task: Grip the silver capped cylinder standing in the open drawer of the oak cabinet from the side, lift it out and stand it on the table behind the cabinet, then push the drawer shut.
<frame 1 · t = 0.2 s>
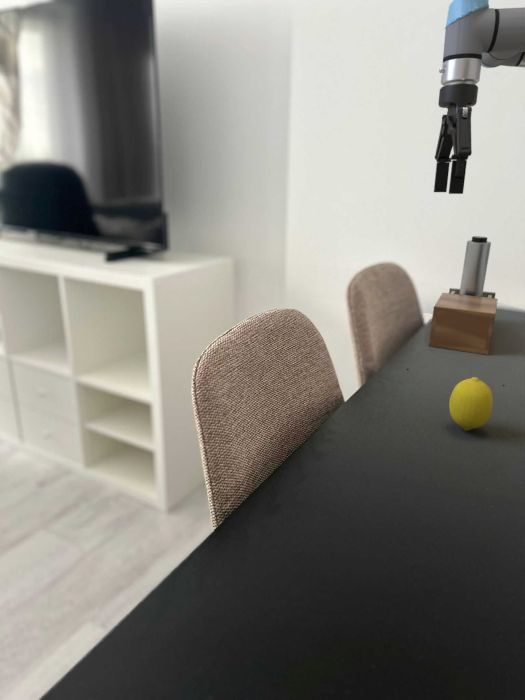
hand: (447, 193, 112), 30 cm above the table, tool pointing down, fingers open, 13 cm apart
lemon: (466, 431, 72), on the table
silver capped cylinder: (466, 318, 121), point 2 cm above the table, touching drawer
cabinet: (460, 340, 111), on the table
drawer: (468, 309, 120), point 4 cm above the table, slide at 10.0 cm, touching silver capped cylinder
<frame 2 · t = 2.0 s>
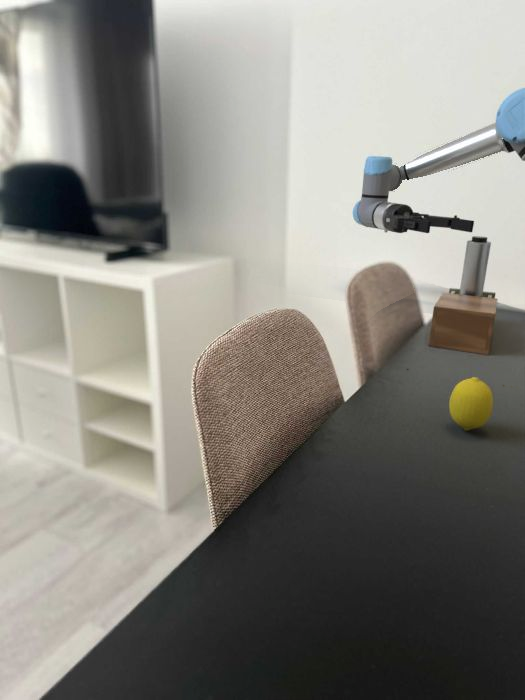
hand: (451, 226, 122), 22 cm above the table, tool horizontal, fingers open, 13 cm apart
nothing on the table moved.
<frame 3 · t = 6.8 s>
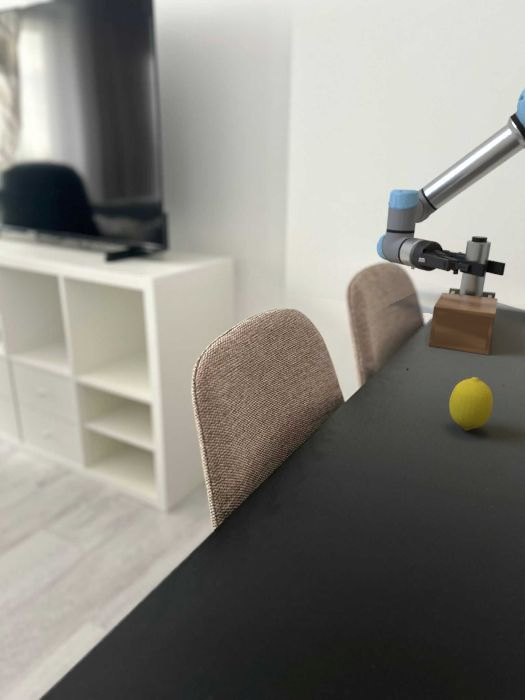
hand: (493, 270, 112), 15 cm above the table, tool horizontal, fingers closed on silver capped cylinder, 5 cm apart
silver capped cylinder: (466, 318, 121), point 2 cm above the table, touching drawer, gripper
everything else where it was.
when the fingers open (12 cm above the table, at t = 19.6 s): silver capped cylinder stays where it is, on the table.
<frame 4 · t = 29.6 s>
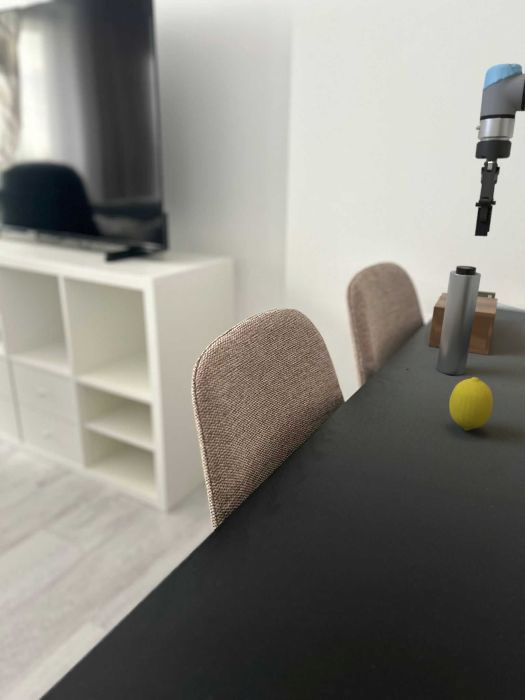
hand: (482, 233, 125), 21 cm above the table, tool pointing down, fingers open, 13 cm apart
silver capped cylinder: (450, 370, 94), on the table
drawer: (468, 309, 120), point 4 cm above the table, slide at 10.0 cm
everything else where it was.
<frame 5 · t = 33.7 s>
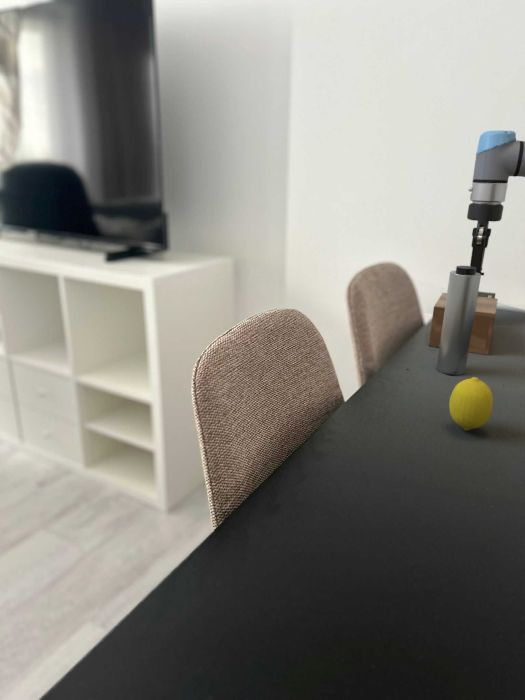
hand: (470, 301, 127), 4 cm above the table, tool pointing down, fingers closed
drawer: (468, 309, 120), point 4 cm above the table, slide at 9.4 cm, touching gripper
everything else where it was.
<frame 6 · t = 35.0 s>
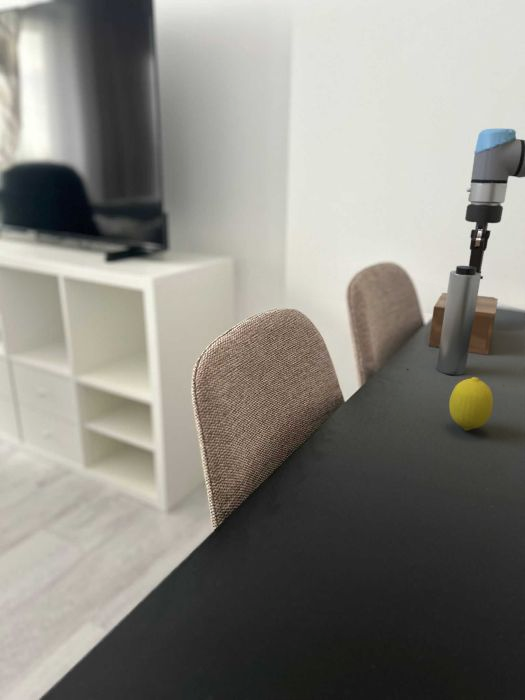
hand: (468, 306, 122), 4 cm above the table, tool pointing down, fingers closed
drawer: (466, 314, 115), point 4 cm above the table, slide at 4.2 cm, touching gripper
everything else where it was.
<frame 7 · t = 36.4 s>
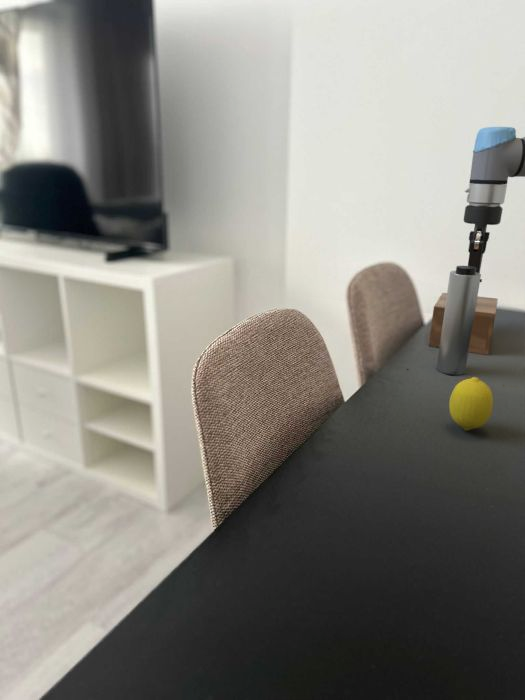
hand: (467, 310, 119), 4 cm above the table, tool pointing down, fingers closed
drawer: (464, 319, 112), point 4 cm above the table, slide at 0.0 cm, touching cabinet, gripper
everything else where it was.
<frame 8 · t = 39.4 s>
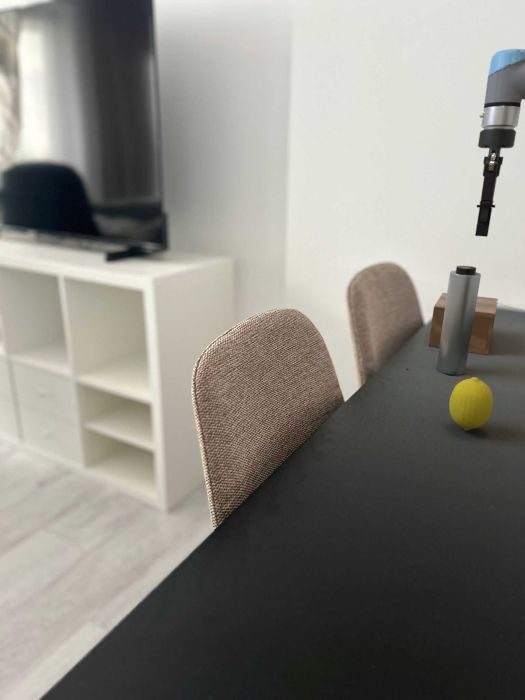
hand: (481, 235, 123), 20 cm above the table, tool pointing down, fingers closed
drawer: (464, 319, 112), point 4 cm above the table, slide at 0.0 cm
everything else where it was.
at the end: silver capped cylinder inside the target area (0.0 cm from its centre), on the table; silver capped cylinder tilted 0°; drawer slide at 0.0 cm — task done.
